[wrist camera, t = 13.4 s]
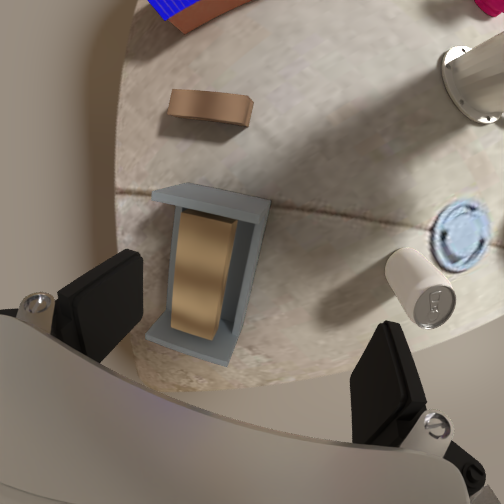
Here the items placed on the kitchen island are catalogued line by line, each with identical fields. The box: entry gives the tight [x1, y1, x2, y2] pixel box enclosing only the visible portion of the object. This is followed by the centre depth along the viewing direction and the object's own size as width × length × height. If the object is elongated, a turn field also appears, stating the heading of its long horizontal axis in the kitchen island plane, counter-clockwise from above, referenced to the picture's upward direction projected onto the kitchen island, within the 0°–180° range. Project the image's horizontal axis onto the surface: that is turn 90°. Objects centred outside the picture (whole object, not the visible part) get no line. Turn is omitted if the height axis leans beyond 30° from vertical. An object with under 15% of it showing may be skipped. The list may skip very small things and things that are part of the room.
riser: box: [167, 89, 254, 127], centre depth 32 cm, size 10×4×4 cm, turn 78°
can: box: [385, 247, 456, 329], centre depth 30 cm, size 6×6×12 cm
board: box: [171, 209, 238, 341], centre depth 34 cm, size 16×6×3 cm, turn 169°
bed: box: [145, 183, 271, 367], centre depth 36 cm, size 12×20×10 cm, turn 168°
